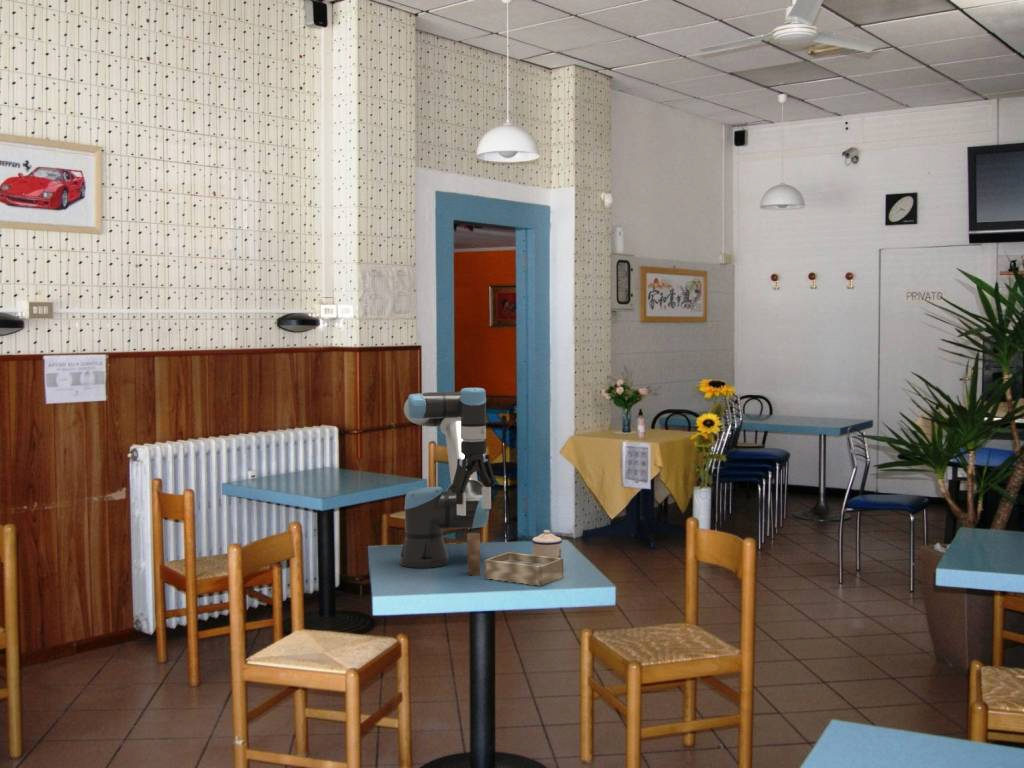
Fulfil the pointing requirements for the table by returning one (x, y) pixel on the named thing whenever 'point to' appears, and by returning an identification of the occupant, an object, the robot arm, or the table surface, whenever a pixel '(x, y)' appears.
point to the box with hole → (523, 568)
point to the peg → (473, 553)
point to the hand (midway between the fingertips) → (474, 511)
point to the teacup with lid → (547, 545)
